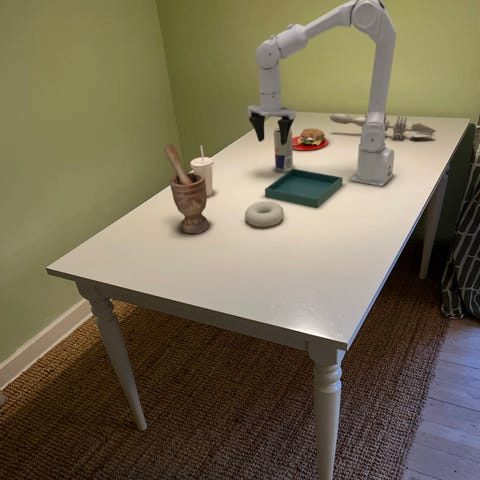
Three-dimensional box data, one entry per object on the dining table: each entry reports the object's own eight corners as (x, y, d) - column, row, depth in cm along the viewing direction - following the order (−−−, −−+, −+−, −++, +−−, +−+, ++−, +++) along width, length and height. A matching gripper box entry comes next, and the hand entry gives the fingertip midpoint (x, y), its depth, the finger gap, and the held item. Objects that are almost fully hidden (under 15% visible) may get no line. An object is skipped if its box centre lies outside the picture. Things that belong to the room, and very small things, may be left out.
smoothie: (214, 198, 136) (207, 150, 128) (192, 198, 138) (184, 150, 129) (219, 189, 141) (213, 141, 132) (198, 189, 143) (191, 141, 134)
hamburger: (294, 135, 171) (294, 117, 167) (333, 137, 165) (333, 119, 162) (280, 149, 161) (279, 131, 157) (320, 152, 156) (321, 134, 152)
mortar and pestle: (163, 228, 126) (146, 153, 113) (183, 214, 131) (170, 140, 118) (198, 237, 120) (185, 159, 107) (217, 222, 125) (207, 146, 113)
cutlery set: (334, 105, 167) (330, 103, 160) (439, 121, 156) (438, 119, 149) (329, 130, 170) (324, 128, 163) (431, 146, 159) (431, 145, 152)
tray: (342, 185, 136) (342, 177, 134) (316, 208, 127) (317, 199, 125) (292, 176, 144) (292, 168, 142) (265, 196, 135) (264, 188, 133)
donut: (238, 218, 126) (257, 233, 119) (237, 206, 124) (256, 220, 117) (271, 207, 129) (291, 221, 122) (270, 195, 127) (291, 208, 120)
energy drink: (274, 167, 150) (272, 128, 143) (291, 165, 150) (290, 125, 143) (276, 173, 146) (275, 133, 138) (294, 171, 146) (293, 131, 138)
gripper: (239, 93, 131) (244, 143, 139) (285, 97, 123) (287, 150, 132) (254, 86, 135) (257, 135, 143) (299, 90, 128) (300, 141, 136)
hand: (272, 142), depth 138 cm, fingers open, 7 cm apart
